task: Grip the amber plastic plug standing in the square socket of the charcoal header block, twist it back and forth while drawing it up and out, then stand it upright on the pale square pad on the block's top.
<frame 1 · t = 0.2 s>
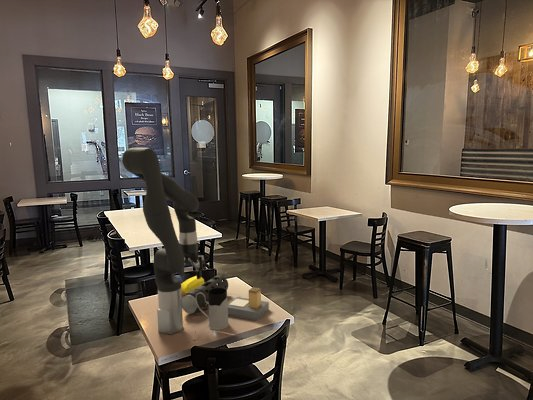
hand: (190, 277, 165), 17 cm above the table, tool pointing down, fingers open, 8 cm apart
plug: (255, 313, 168), resting on header block
header block: (246, 312, 170), on the table
yellow banana: (192, 291, 197), on the table
white pitcher: (212, 325, 158), on the table
muzzle brake: (206, 305, 179), on the table
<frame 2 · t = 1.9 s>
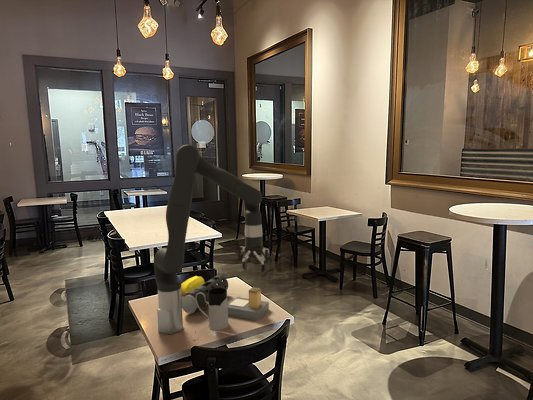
hand: (254, 270, 165), 20 cm above the table, tool pointing down, fingers open, 8 cm apart
nothing on the table moved.
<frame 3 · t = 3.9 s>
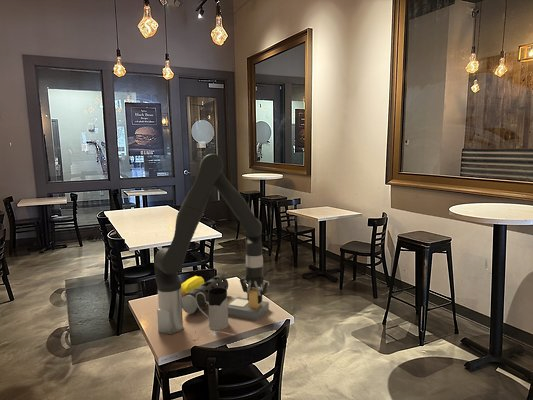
hand: (254, 302, 167), 6 cm above the table, tool pointing down, fingers closed on plug, 4 cm apart
plug: (255, 313, 168), point 1 cm above the table, touching gripper, header block
everything else where it was.
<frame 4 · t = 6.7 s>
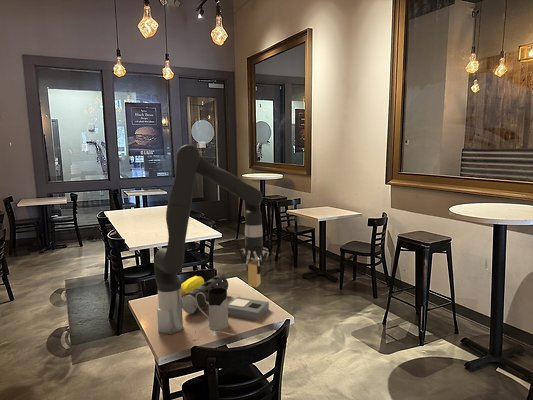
hand: (254, 273, 165), 19 cm above the table, tool pointing down, fingers closed on plug, 4 cm apart
plug: (254, 284, 166), point 14 cm above the table, touching gripper
everything else where it was.
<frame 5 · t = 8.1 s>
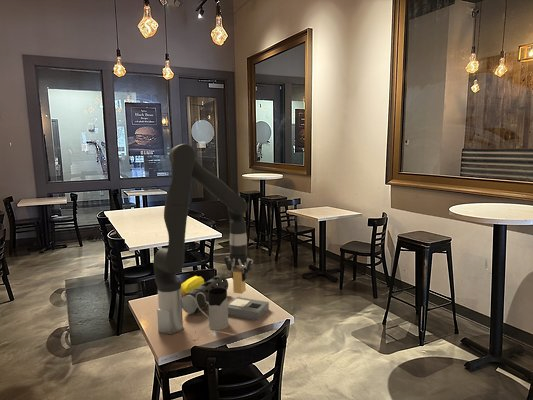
hand: (239, 280, 169), 15 cm above the table, tool pointing down, fingers closed on plug, 4 cm apart
plug: (239, 291, 170), point 9 cm above the table, touching gripper
everything else where it was.
when the fingers open (11 cm above the table, at t = 9.5 s): plug drops 1 cm, resting on header block.
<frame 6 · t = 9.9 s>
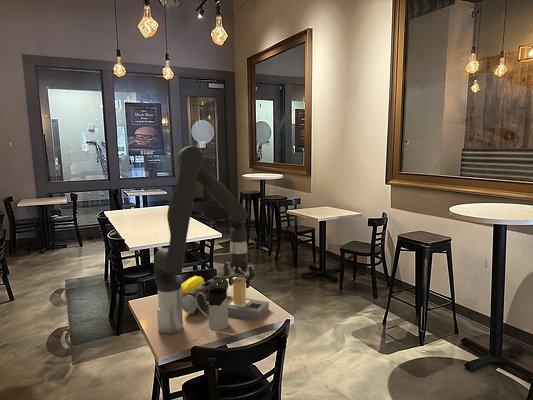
hand: (239, 286, 169), 12 cm above the table, tool pointing down, fingers open, 8 cm apart
plug: (239, 302, 170), point 4 cm above the table, touching header block
everything else where it was.
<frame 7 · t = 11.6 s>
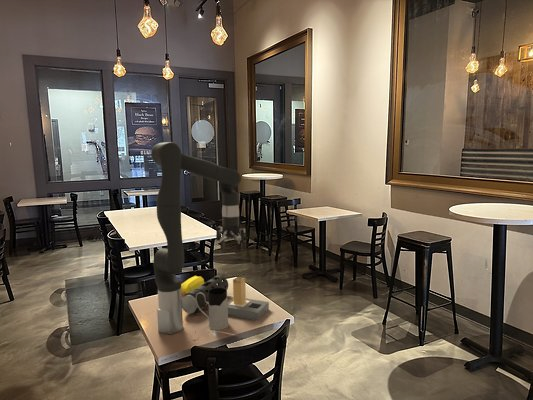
hand: (231, 250, 172), 27 cm above the table, tool pointing down, fingers open, 8 cm apart
nothing on the table moved.
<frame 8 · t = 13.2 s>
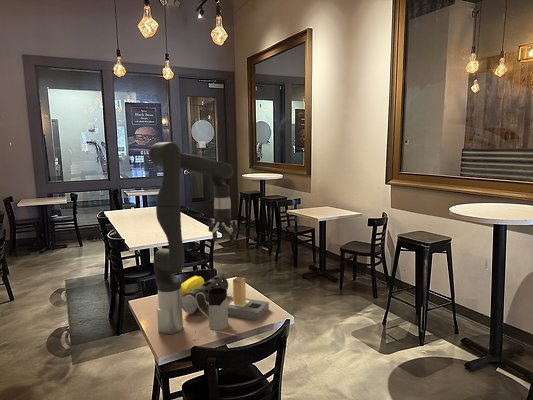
hand: (223, 241, 176), 30 cm above the table, tool pointing down, fingers open, 8 cm apart
nothing on the table moved.
at the end: plug 0.2 cm from the target spot on the header block, point 4.3 cm above the header block's base; plug tilted 0°; the gripper is holding nothing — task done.
